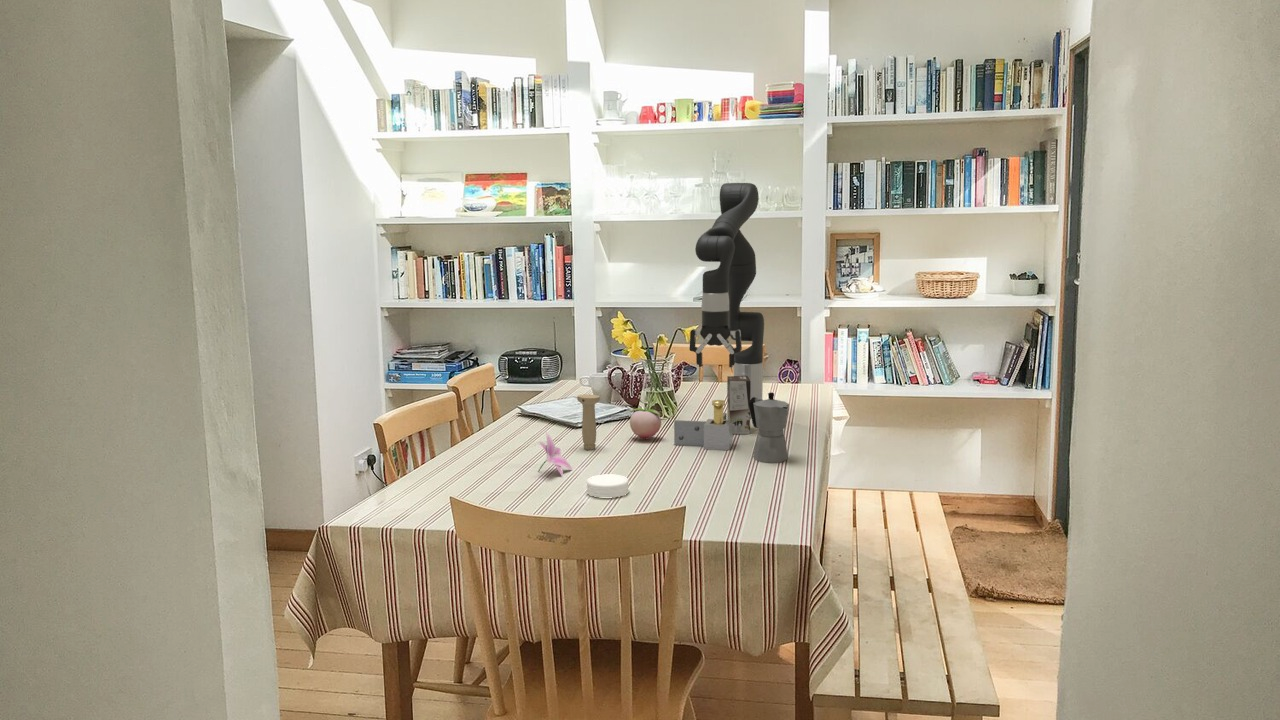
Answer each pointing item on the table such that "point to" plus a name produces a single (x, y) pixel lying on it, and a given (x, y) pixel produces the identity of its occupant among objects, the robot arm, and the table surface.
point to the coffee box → (739, 403)
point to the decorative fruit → (645, 422)
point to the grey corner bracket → (704, 433)
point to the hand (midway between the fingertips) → (715, 366)
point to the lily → (554, 455)
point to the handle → (588, 419)
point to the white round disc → (607, 485)
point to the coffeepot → (769, 428)
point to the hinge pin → (718, 411)
